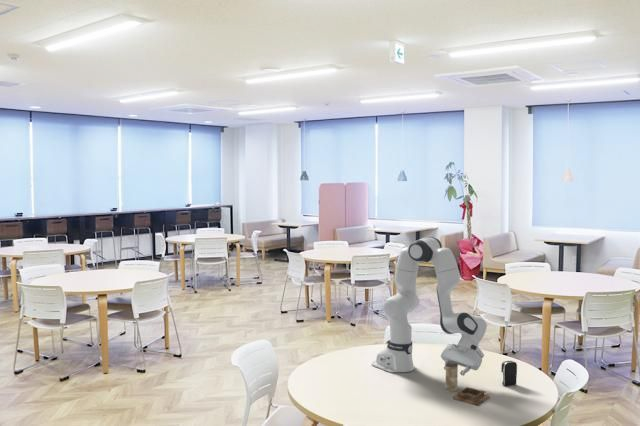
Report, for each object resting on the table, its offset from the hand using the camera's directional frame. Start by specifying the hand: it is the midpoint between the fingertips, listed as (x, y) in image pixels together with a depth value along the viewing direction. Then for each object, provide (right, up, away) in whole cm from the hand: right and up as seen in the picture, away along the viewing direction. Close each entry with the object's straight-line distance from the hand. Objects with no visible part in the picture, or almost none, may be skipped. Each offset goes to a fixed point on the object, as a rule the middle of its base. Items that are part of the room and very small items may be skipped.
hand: (453, 372), depth 270 cm
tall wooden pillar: (-1, -8, 0) cm, 8 cm away
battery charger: (+28, -8, +6) cm, 29 cm away
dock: (+5, -9, -11) cm, 15 cm away
